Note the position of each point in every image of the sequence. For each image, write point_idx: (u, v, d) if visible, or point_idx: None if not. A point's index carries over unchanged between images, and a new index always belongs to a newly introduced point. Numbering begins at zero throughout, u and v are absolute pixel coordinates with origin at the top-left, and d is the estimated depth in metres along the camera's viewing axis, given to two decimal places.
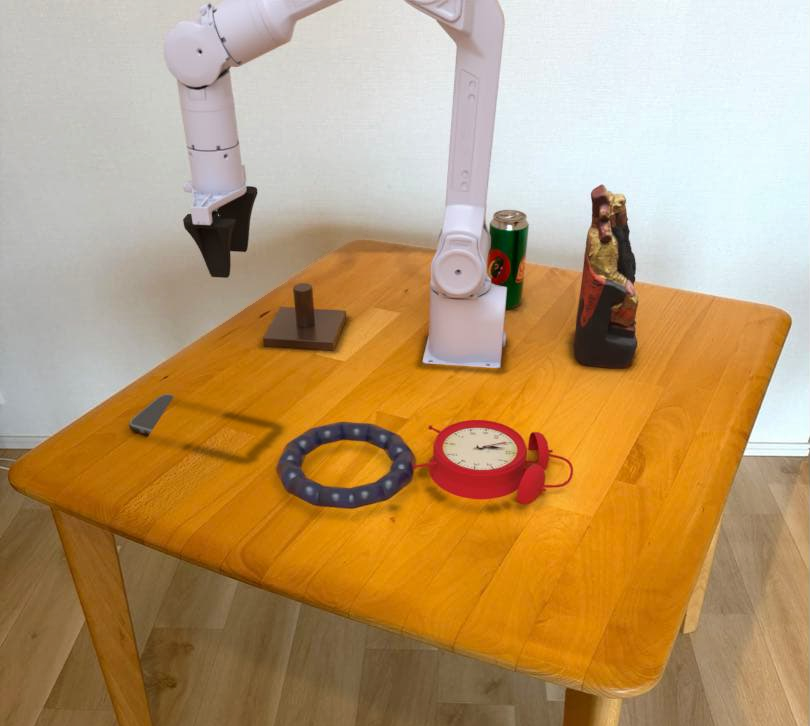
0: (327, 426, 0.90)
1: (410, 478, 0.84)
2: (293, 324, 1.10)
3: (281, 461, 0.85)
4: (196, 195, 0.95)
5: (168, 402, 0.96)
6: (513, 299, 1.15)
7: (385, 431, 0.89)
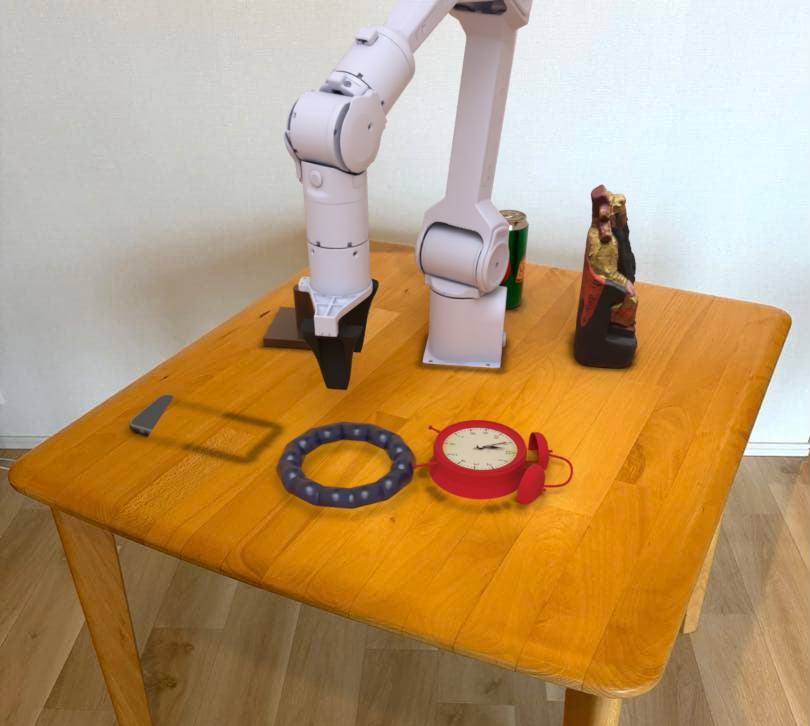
0: (327, 426, 0.90)
1: (410, 478, 0.84)
2: (293, 324, 1.10)
3: (281, 461, 0.85)
4: (316, 297, 0.80)
5: (168, 402, 0.96)
6: (513, 299, 1.15)
7: (385, 431, 0.89)
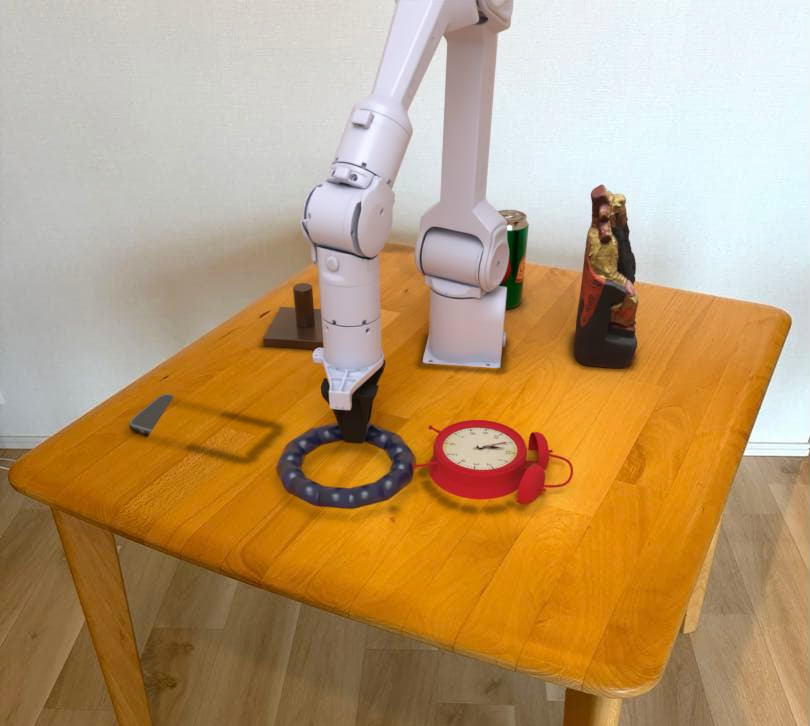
0: (327, 426, 0.90)
1: (410, 478, 0.84)
2: (293, 324, 1.10)
3: (281, 461, 0.85)
4: (329, 370, 0.83)
5: (168, 402, 0.96)
6: (513, 299, 1.15)
7: (385, 431, 0.89)
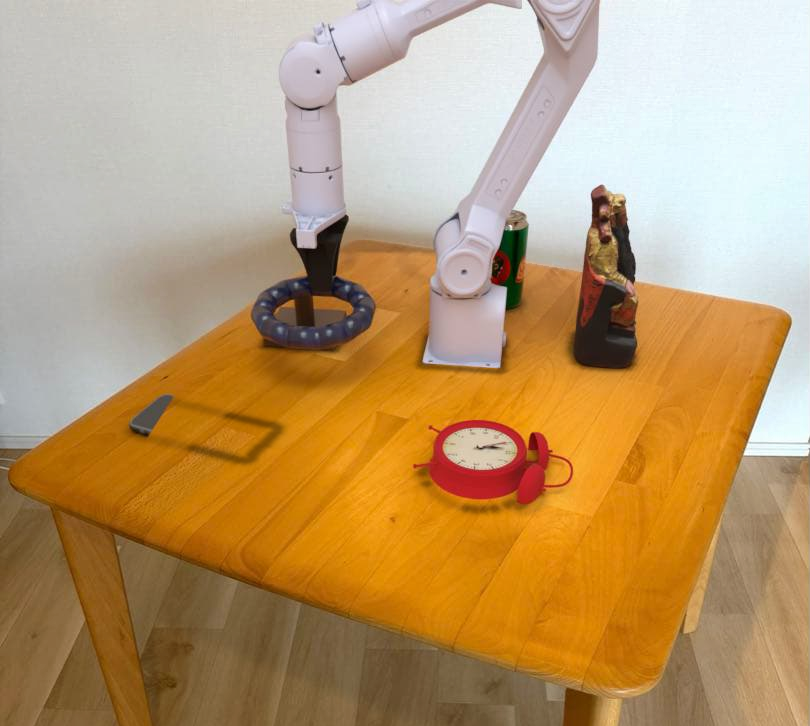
0: (296, 278, 1.00)
1: (370, 320, 0.95)
2: (293, 324, 1.10)
3: (255, 307, 0.95)
4: (297, 217, 0.93)
5: (168, 402, 0.96)
6: (513, 299, 1.15)
7: (348, 281, 0.99)
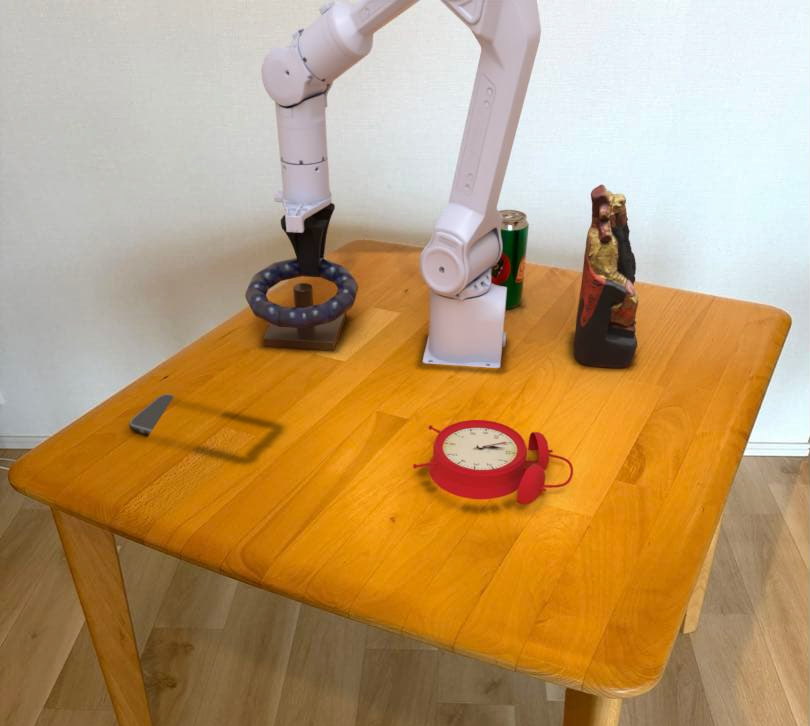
0: (286, 261, 1.10)
1: (352, 300, 1.05)
2: None
3: (249, 288, 1.06)
4: (287, 205, 1.03)
5: (168, 402, 0.96)
6: (513, 299, 1.15)
7: (333, 263, 1.09)
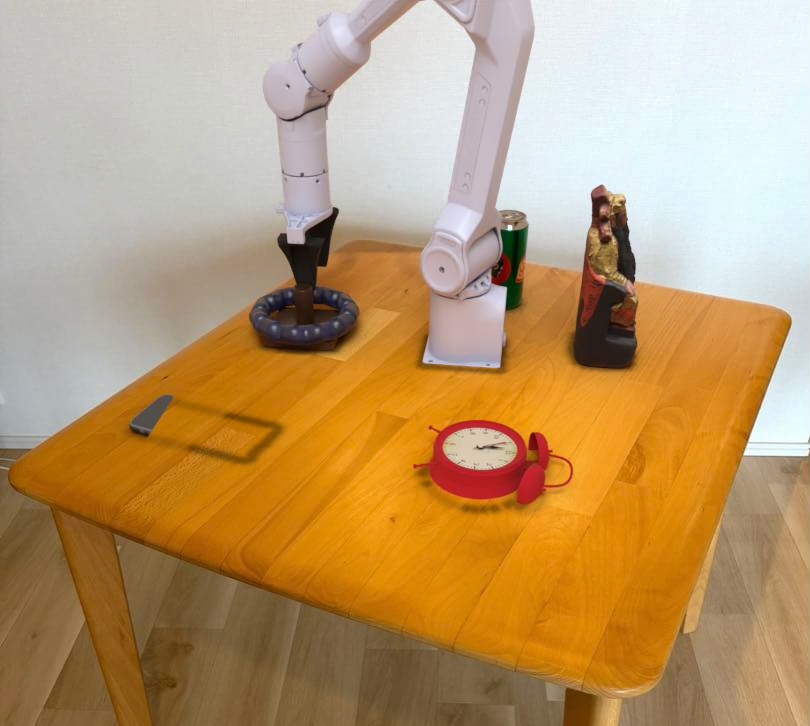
0: (290, 287, 1.13)
1: (353, 321, 1.07)
2: (293, 324, 1.10)
3: (252, 309, 1.08)
4: (288, 216, 1.04)
5: (168, 402, 0.96)
6: (513, 299, 1.15)
7: (336, 290, 1.12)
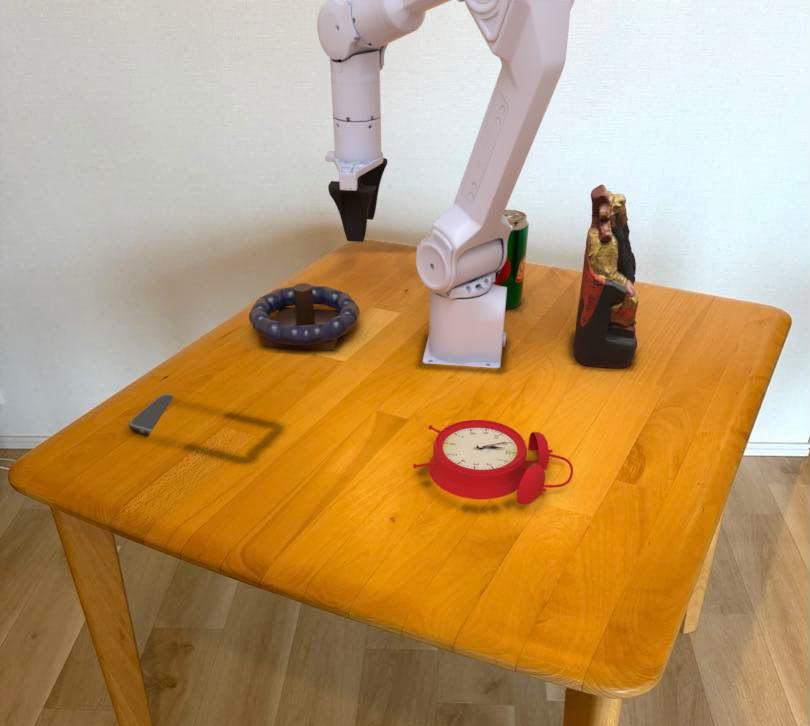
0: (290, 287, 1.13)
1: (353, 321, 1.07)
2: (293, 324, 1.10)
3: (252, 309, 1.08)
4: (339, 164, 1.03)
5: (168, 402, 0.96)
6: (513, 299, 1.15)
7: (336, 290, 1.12)
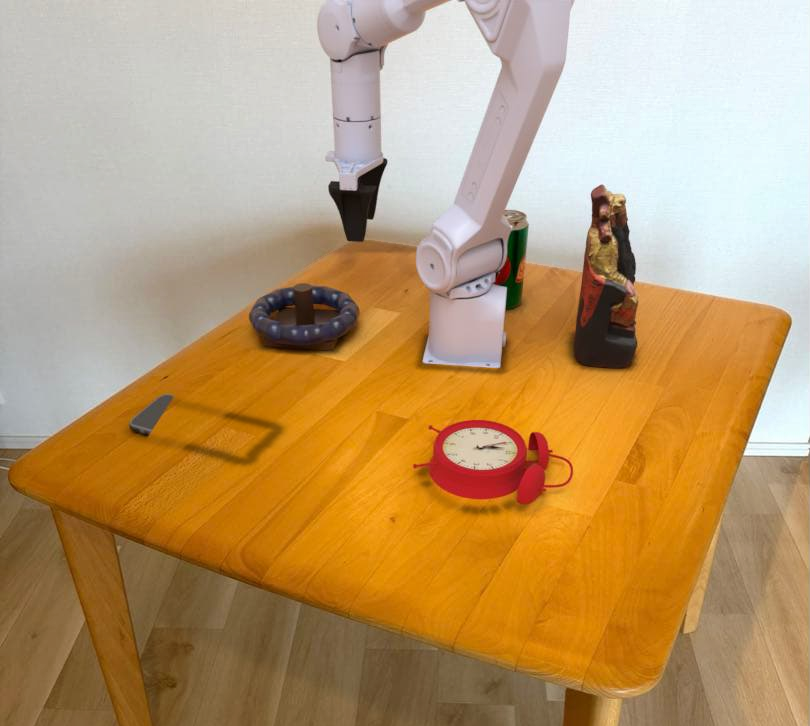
0: (290, 287, 1.13)
1: (353, 321, 1.07)
2: (293, 324, 1.10)
3: (252, 309, 1.08)
4: (339, 164, 1.03)
5: (168, 402, 0.96)
6: (513, 299, 1.15)
7: (336, 290, 1.12)
